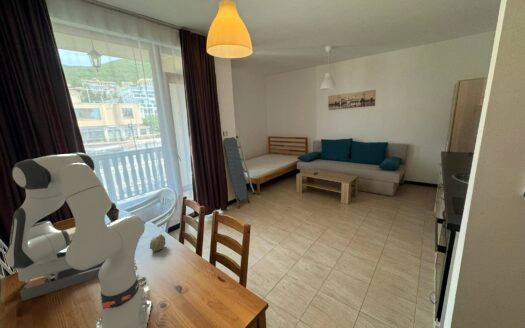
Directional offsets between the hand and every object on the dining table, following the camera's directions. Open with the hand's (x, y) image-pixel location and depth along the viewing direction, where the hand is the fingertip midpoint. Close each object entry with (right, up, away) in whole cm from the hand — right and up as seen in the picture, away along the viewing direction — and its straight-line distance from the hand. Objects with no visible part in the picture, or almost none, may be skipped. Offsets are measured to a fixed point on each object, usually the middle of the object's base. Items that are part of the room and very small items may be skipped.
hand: (53, 280), depth 98 cm
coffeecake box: (-2, +1, +18) cm, 19 cm away
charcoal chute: (+6, -2, +4) cm, 7 cm away
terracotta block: (-4, -2, -2) cm, 5 cm away
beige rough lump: (+37, +4, +26) cm, 45 cm away
